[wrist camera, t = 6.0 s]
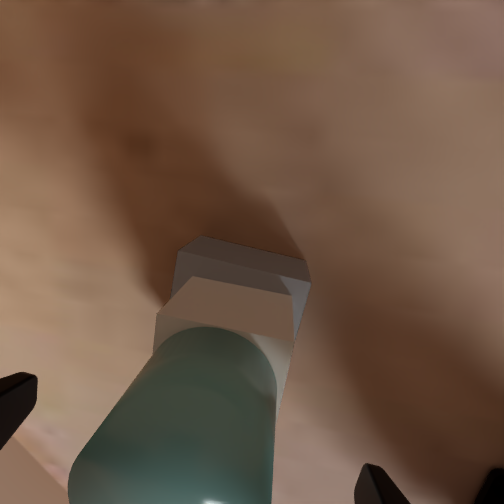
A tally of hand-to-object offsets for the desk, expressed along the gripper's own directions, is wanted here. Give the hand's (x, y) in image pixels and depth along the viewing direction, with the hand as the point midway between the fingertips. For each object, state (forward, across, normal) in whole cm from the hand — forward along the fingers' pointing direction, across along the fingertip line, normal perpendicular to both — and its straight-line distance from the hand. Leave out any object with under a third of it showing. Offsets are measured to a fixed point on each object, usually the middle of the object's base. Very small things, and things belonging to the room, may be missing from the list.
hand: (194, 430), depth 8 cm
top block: (+6, 0, 0) cm, 6 cm away
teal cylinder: (+2, 0, 0) cm, 2 cm away
